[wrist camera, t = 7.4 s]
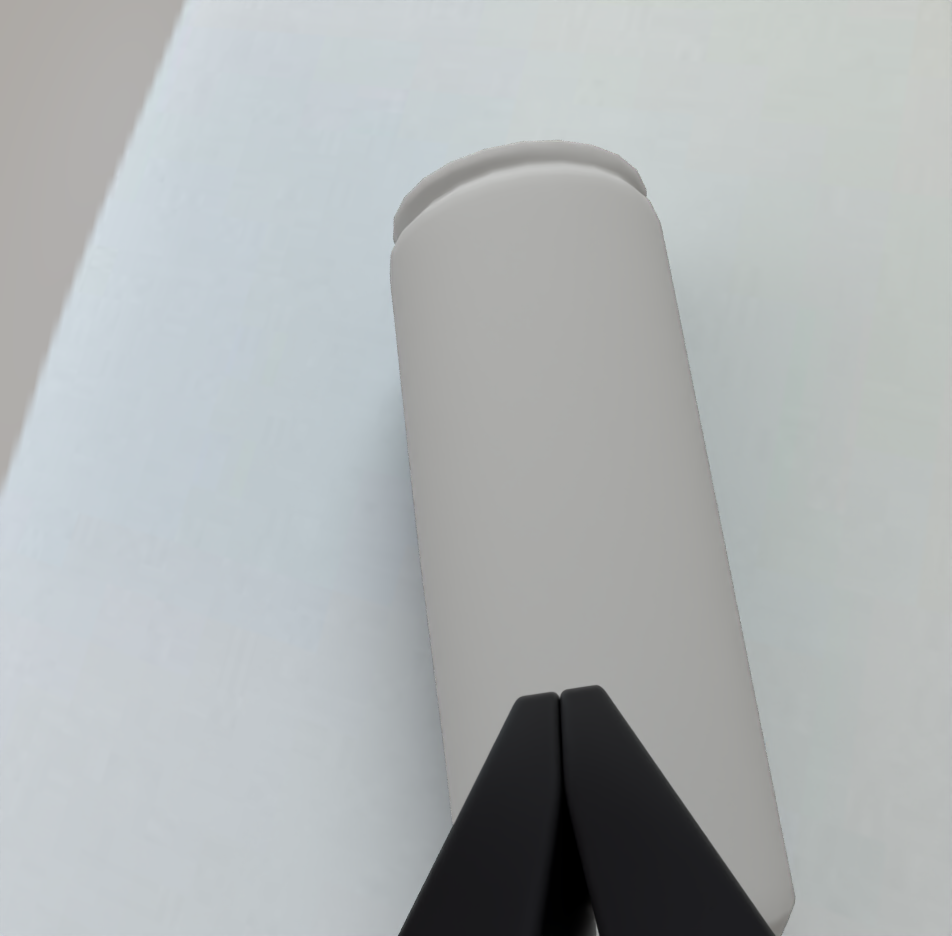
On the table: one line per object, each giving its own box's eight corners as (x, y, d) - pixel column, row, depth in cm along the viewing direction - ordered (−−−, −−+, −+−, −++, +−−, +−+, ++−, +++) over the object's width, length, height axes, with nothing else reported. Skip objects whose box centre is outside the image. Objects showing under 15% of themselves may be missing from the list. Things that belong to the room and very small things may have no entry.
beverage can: (591, 1041, 10) (462, 104, 13) (408, 968, 14) (344, 265, 17) (882, 941, 12) (711, 168, 15) (653, 903, 16) (556, 296, 19)
